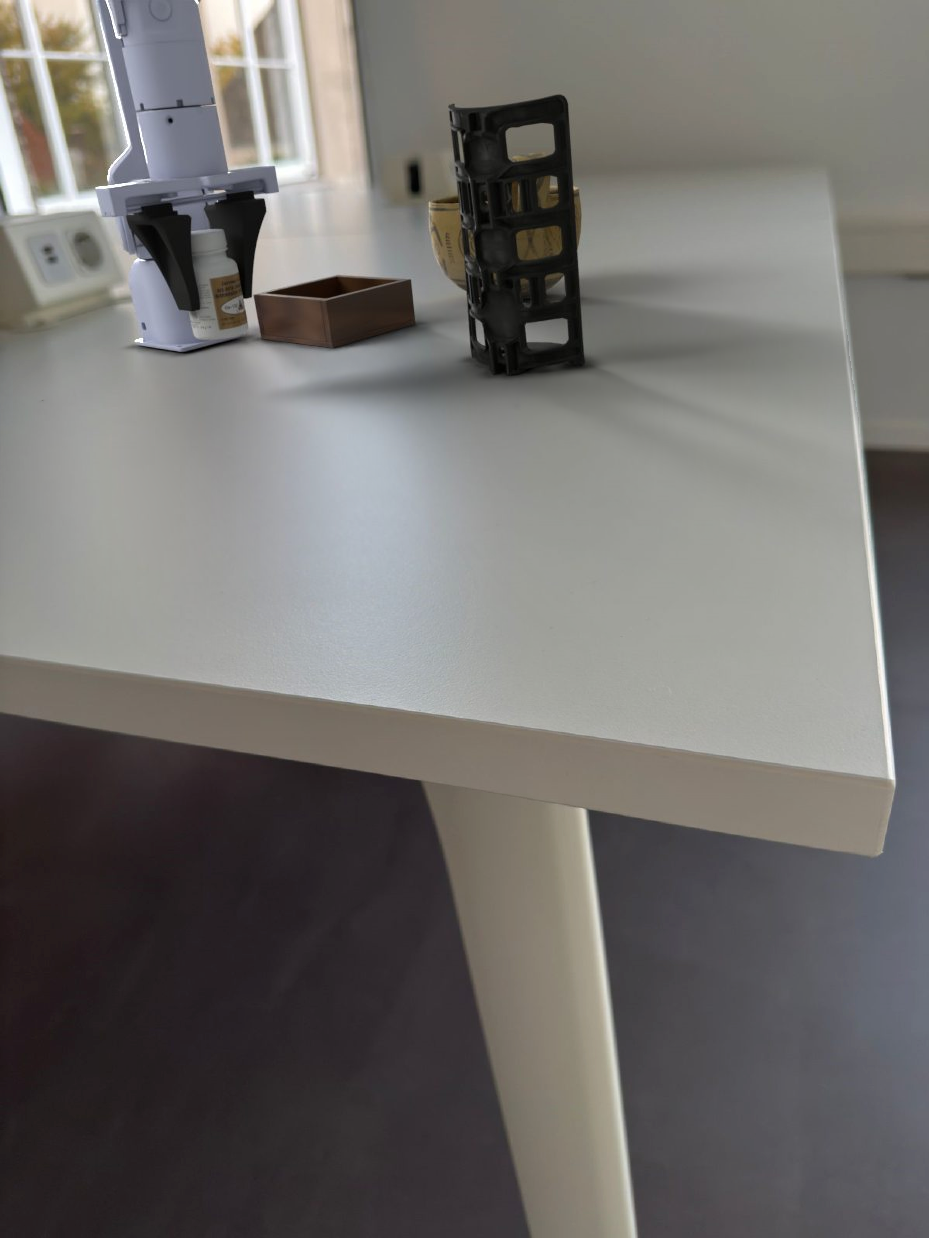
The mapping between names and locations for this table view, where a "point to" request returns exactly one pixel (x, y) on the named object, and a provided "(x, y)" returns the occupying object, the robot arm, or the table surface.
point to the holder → (500, 226)
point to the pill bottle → (216, 288)
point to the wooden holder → (335, 310)
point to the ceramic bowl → (529, 242)
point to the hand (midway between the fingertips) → (215, 303)
